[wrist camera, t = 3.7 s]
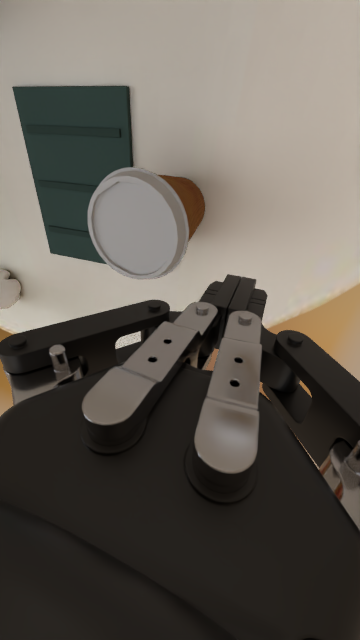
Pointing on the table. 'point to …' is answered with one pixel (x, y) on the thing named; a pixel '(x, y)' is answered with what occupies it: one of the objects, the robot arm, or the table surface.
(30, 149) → the mat
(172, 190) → the disposable coffee cup
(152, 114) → the table surface
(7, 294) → the water bottle
